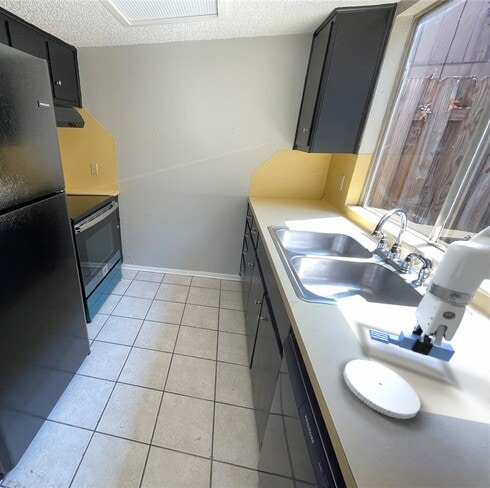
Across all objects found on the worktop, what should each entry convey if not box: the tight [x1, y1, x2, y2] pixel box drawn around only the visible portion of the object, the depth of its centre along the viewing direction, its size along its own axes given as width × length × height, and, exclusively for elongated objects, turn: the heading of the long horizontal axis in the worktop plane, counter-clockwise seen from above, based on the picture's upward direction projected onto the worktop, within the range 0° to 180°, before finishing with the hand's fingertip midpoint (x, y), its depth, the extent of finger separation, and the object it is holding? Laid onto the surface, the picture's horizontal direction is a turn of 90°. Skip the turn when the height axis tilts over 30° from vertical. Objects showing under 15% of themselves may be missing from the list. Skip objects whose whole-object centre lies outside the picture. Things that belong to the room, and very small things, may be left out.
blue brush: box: [368, 328, 456, 363], centre depth 70 cm, size 16×4×4 cm, turn 61°
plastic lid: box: [342, 359, 422, 420], centre depth 60 cm, size 14×14×2 cm
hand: (417, 347), depth 69 cm, fingers closed on blue brush, 2 cm apart
